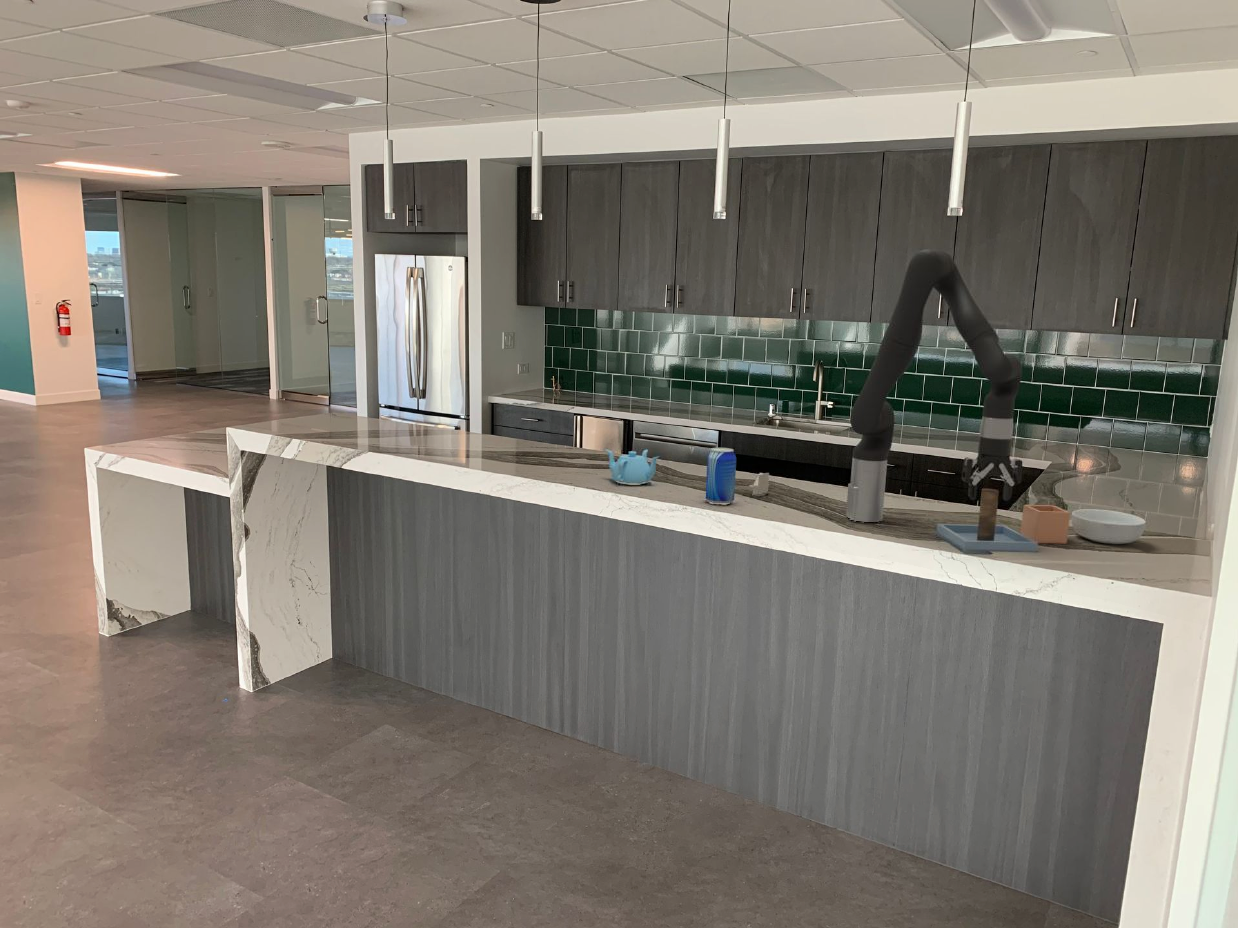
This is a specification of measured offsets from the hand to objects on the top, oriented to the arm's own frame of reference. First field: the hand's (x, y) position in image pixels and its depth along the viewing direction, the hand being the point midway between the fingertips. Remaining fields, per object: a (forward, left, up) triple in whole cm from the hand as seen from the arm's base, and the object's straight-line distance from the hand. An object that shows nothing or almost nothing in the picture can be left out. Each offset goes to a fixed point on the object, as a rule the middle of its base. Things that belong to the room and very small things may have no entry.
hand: (989, 499), depth 232 cm
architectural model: (-47, +55, -12) cm, 73 cm away
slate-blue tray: (0, 0, -12) cm, 12 cm away
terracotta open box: (+17, +4, -12) cm, 21 cm away
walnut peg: (0, 0, -11) cm, 11 cm away
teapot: (-85, +72, -12) cm, 112 cm away
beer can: (-61, +43, -12) cm, 76 cm away
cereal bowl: (+34, +5, -12) cm, 36 cm away
